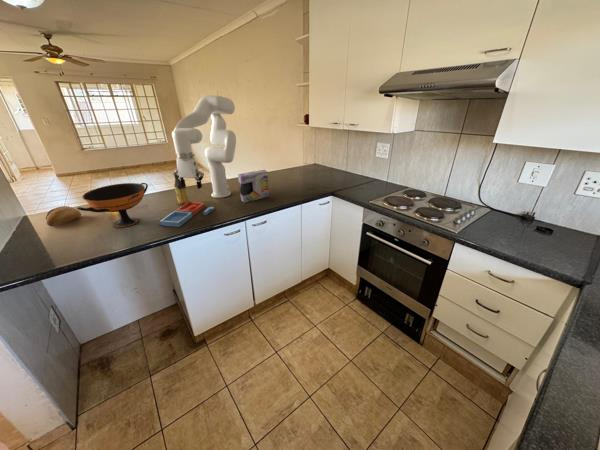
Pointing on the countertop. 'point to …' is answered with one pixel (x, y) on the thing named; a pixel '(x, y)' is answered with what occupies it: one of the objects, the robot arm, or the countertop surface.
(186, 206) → the red tray
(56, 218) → the bread roll
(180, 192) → the sauce bottle
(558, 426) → the countertop surface
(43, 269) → the countertop surface
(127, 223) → the cup
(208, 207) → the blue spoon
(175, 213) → the blue tray
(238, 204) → the countertop surface
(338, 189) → the countertop surface
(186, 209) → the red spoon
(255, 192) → the cake pan box
